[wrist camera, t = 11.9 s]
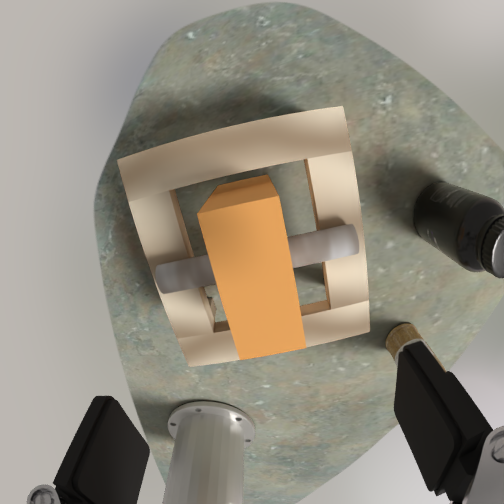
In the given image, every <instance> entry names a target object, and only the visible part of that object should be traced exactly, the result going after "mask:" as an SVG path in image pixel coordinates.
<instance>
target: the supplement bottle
mask: <svg viewBox="0 0 504 504" xmlns="http://www.w3.org/2000/svg"><path fill="white" fill-rule="evenodd" d="M414 222H415V227H416V229H417V231H418V233H419V235H420V236H421V237H422V238H423V239H424V240H425V241H427V242H428V243H429V244H431V245H432V246H434V247H435V248H437V249H438V250H439V251H441V252H442V253H444V254H445V255H447V256H448V257H449V258H451V259H452V260H454V261H455V262H456V263H458V264H459V265H460V266H462V267H463V268H465V269H466V270H468V271H471V272H482V271H485V270H486V271H487V272H489V273H491V274H493V275H494V276H495V277H498V278H504V208H503V207H502V205H501V204H500V203H499V202H498V201H496V200H494V199H492V198H490V197H487V196H484V195H482V194H479V193H476V192H473V191H470V190H467V189H464V188H461V187H458V186H455V185H452V184H449V183H444V182H438V183H434V184H432V185H430V186H428V187H427V188H426V189H425V190H424V191H423V192H422V193H421V194H420V196H419V198H418V200H417V202H416V205H415V210H414Z"/></svg>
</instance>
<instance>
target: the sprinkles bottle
mask: <svg viewBox="0 0 504 504" xmlns="http://www.w3.org/2000/svg"><path fill="white" fill-rule="evenodd" d="M417 341H422V342H423V343H424V344H425V346H426V347H427V348H428V350H429V351H430V352H431V353H432V355H433V356H434V357H435V359H436V360H437V361H438V363H439V364H440V366H441V367H442V368H443V370H444V371H445V372H446V370H445V368H444V366H443V365H442V363H441V362H440V361H439V359H438V358H437V356H436V355H435V354H434V352H433V351H432V350H431V348H430V347H429V345H428V344H427V343H426V342H425V341H424V339H423V338H422V337H421V335H420V334H419V333H418V331H417V329H416V327H415V326H414V325H412V324H407V323H405V324H401V325H399V326H397V327H395V328H394V329H393V330H392V331H391V332H390V333H389V334H388V336H387V339H386V348H387V350H388V351H389V352H390V353H391V355H392V357H393V359H394V361H395V363H396V365H397V367H398V355H399V352H401V351H403V347H404V346H405V345H409V344H412V343H415V342H417Z"/></svg>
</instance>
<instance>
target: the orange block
mask: <svg viewBox="0 0 504 504" xmlns="http://www.w3.org/2000/svg"><path fill="white" fill-rule="evenodd" d="M197 216H198V219H199V223H200V227H201V230H202V234H203V238H204V241H205V245H206V249H207V252H208V256H209V259H210V263H211V266H212V270H213V273H214V277H215V280H216V283H217V287H218V290H219V294H220V297H221V300H222V304H223V307H224V310H225V314H226V317H227V320H228V323H229V327H230V330H231V333H232V336H233V340H234V343H235V346H236V349H237V352H238V355H239V358H240V360H244V359H250V358H256V357H262V356H267V355H273V354H278V353H283V352H289V351H294V350H298V349H303V348H306V342H305V335H304V329H303V323H302V317H301V311H300V305H299V300H298V294H297V288H296V283H295V277H294V271H293V266H292V261H291V255H290V250H289V245H288V239H287V234H286V229H285V224H284V219H283V214H282V209H281V204H280V199H279V195H278V193H277V191H276V189H275V187H274V185H273V184H272V182H271V180H270V178H269V176H268V174H267V175H262V176H258V177H253V178H248V179H244V180H239V181H235V182H230V183H226V184H222V185H218V186H217V187H216V189H215V190H214V191H213V193H212V194H211V195H210V197H209V198H208V200H207V201H206V202H205V204H204V205H203V206H202V208H201V209H200V211H199V212H198V213H197Z"/></svg>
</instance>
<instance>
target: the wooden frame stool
mask: <svg viewBox="0 0 504 504" xmlns="http://www.w3.org/2000/svg"><path fill="white" fill-rule="evenodd" d="M303 159H304V163H305V168H306V173H307V178H308V184H309V189H310V194H311V200H312V205H313V211H314V217H315V223H316V229H317V231H314V232H309V233H304V234H300V235H295V236H290V237H287V239H288V245H289V250H290V255H291V261H292V266H293V268H296V267H301V266H305V265H310V264H315V263H319V262H322V267H323V274H324V281H325V289H326V296H327V300H325V301H320V302H316V303H311V304H307V305H302V306H300V311H301V317H302V323H303V329H304V335H305V342H306V347H310V346H314V345H319V344H323V343H327V342H332V341H336V340H340V339H344V338H348V337H352V336H356V335H360V334H363V333H367V332H370V316H369V294H368V278H367V265H366V253H365V243H364V233H363V224H362V216H361V208H360V200H359V193H358V186H357V179H356V173H355V167H354V161H353V155H352V149H351V144H350V139H349V133H348V128H347V124H346V119H345V114H344V109H343V106H339V107H331V108H324V109H317V110H311V111H304V112H298V113H292V114H287V115H281V116H276V117H271V118H266V119H261V120H256V121H251V122H247V123H242V124H238V125H233V126H229V127H225V128H221V129H217V130H213V131H209V132H205V133H201V134H198V135H194V136H190V137H187V138H183V139H180V140H176V141H173V142H170V143H166V144H163V145H160V146H157V147H153V148H150V149H147V150H144V151H141V152H138V153H135V154H132V155H129V156H126V157H124V158H121V159H118V160H117V163H118V166H119V170H120V174H121V178H122V181H123V185H124V188H125V192H126V195H127V199H128V202H129V206H130V209H131V212H132V216H133V219H134V222H135V225H136V228H137V232H138V235H139V238H140V241H141V244H142V247H143V250H144V253H145V256H146V259H147V262H148V264H149V267H150V270H151V273H152V276H153V278H154V281H155V284H156V287H157V289H158V292H159V295H160V297H161V300H162V303H163V305H164V308H165V310H166V313H167V315H168V318H169V320H170V323H171V325H172V328H173V330H174V333H175V335H176V337H177V340H178V342H179V345H180V347H181V349H182V352H183V354H184V356H185V358H186V361H187V363H188V365H189V367H193V366H201V365H208V364H215V363H222V362H229V361H235V360H240V358H239V355H238V352H237V349H236V346H235V343H234V340H233V336H232V333H231V330H230V327H229V323H228V320H226V321H221V322H215V314H216V307H215V304H214V301H213V298H208V299H207V296H206V293H205V289H204V286H209V285H214V284H217V283H216V280H215V277H214V273H213V270H212V266H211V263H210V259H209V256H208V254H206V255H202V256H197V257H194V254H193V251H192V247H191V244H190V241H189V237H188V234H187V230H186V227H185V223H184V220H183V216H182V213H181V209H180V206H179V202H178V199H177V195H176V191H175V189H176V188H180V187H184V186H188V185H191V184H195V183H199V182H203V181H207V180H211V179H215V178H219V177H223V176H228V175H232V174H236V173H241V172H245V171H249V170H254V169H259V168H263V167H268V166H273V165H278V164H282V163H287V162H293V161H298V160H303Z"/></svg>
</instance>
